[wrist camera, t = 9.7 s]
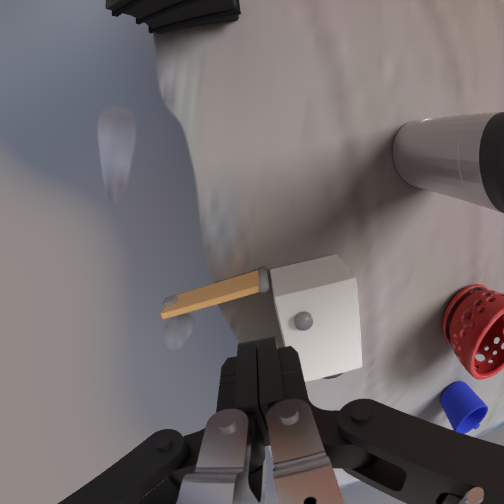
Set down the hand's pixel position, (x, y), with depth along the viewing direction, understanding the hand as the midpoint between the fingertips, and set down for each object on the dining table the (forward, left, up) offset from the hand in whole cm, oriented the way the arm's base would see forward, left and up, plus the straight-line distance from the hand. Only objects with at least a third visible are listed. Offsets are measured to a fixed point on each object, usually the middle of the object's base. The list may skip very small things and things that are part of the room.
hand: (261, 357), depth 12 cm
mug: (-34, +46, -27) cm, 63 cm away
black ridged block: (+2, -28, -27) cm, 39 cm away
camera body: (-5, +14, -27) cm, 31 cm away
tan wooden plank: (+7, +7, -27) cm, 29 cm away
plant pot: (-32, +23, -27) cm, 48 cm away
